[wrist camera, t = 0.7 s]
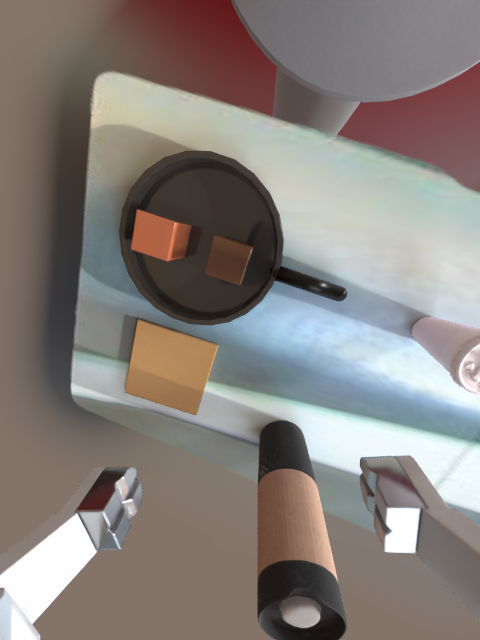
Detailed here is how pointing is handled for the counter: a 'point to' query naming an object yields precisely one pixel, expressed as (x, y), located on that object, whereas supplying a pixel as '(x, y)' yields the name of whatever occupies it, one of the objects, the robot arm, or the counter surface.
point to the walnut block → (228, 259)
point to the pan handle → (309, 283)
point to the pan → (203, 236)
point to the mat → (169, 367)
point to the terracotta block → (160, 236)
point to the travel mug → (293, 544)
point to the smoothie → (452, 349)
